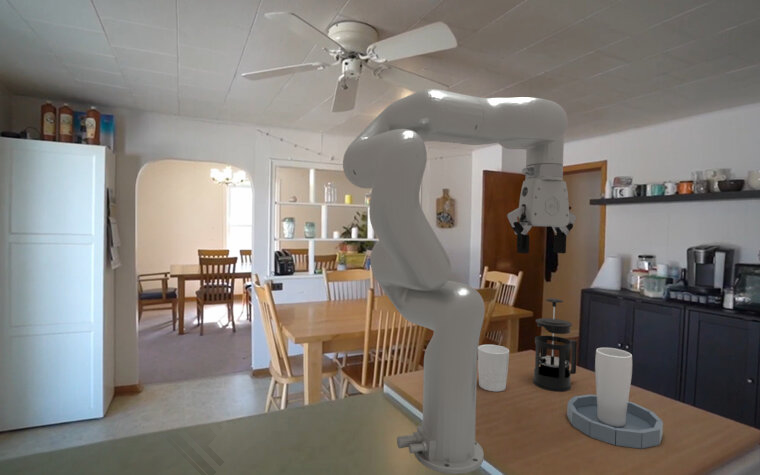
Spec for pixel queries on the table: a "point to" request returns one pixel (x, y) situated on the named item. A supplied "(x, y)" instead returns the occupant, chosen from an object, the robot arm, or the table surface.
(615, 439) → the bowl
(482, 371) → the white cup
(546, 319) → the french press
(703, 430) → the table surface
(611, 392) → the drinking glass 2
